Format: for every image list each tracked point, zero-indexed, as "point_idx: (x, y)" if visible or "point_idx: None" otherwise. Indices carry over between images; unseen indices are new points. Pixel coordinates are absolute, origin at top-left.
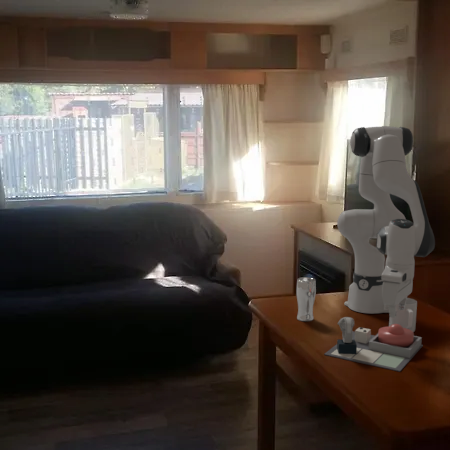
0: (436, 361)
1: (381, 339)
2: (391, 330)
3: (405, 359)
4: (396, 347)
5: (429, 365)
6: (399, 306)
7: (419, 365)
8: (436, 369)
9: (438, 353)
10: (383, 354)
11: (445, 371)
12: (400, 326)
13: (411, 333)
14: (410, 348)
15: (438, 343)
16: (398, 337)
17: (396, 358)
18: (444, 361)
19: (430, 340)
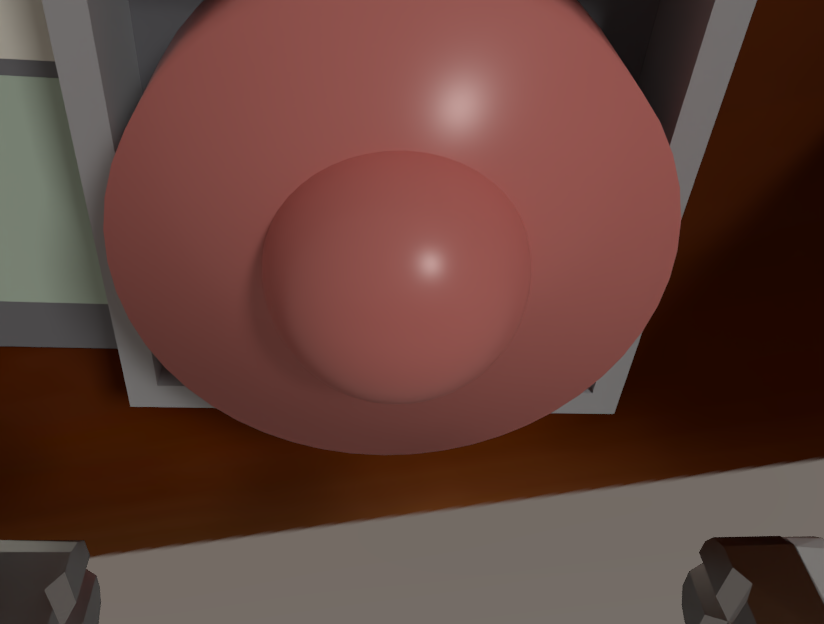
0: (257, 490)
1: (163, 59)
2: (277, 261)
3: (81, 316)
4: (103, 274)
5: (128, 471)
6: (739, 609)
7: (63, 420)
8: (84, 515)
9: (457, 472)
10: (31, 82)
11: (95, 556)
12: (385, 400)
13: (442, 430)
14: (175, 399)
15: (722, 434)
16: (170, 347)
17: (32, 241)
18: (296, 525)
19: (792, 374)
